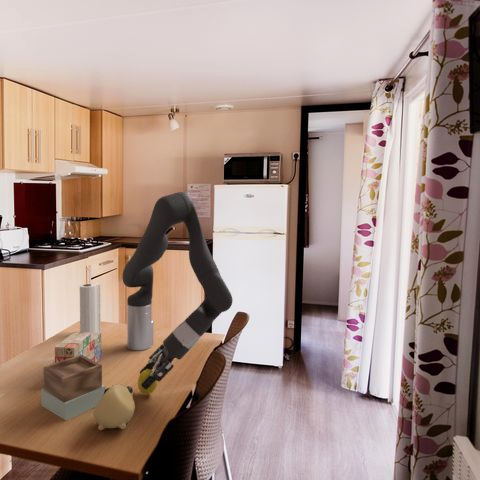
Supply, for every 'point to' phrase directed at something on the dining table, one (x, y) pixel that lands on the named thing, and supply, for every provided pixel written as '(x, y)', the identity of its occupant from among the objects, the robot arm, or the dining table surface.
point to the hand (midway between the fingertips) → (142, 380)
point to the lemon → (142, 378)
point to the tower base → (71, 403)
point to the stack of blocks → (80, 347)
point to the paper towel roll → (90, 308)
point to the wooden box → (72, 377)
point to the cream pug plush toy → (115, 407)
